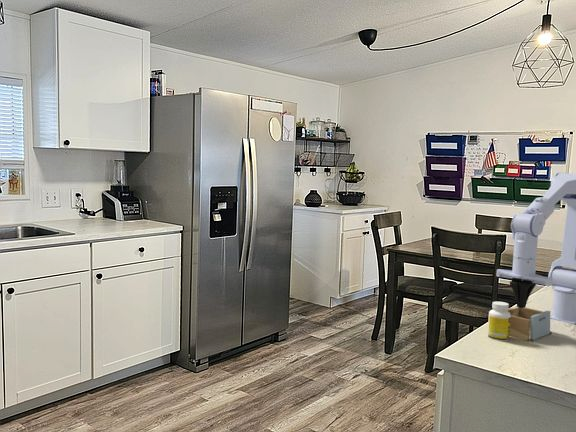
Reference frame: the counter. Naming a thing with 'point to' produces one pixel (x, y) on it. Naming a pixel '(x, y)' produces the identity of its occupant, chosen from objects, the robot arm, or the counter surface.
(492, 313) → the supplement bottle
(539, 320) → the panel
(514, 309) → the box
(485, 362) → the counter surface
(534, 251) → the robot arm
